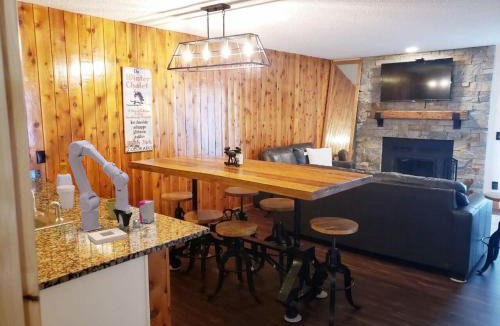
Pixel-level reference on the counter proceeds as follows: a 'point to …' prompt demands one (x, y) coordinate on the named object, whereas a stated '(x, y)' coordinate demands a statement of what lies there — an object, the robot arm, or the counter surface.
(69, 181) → the soap bottle
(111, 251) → the counter surface
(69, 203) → the foam cup
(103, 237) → the hole board
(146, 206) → the supplement box
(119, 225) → the long steel pin
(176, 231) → the counter surface
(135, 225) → the short steel pin
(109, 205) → the plant pot
